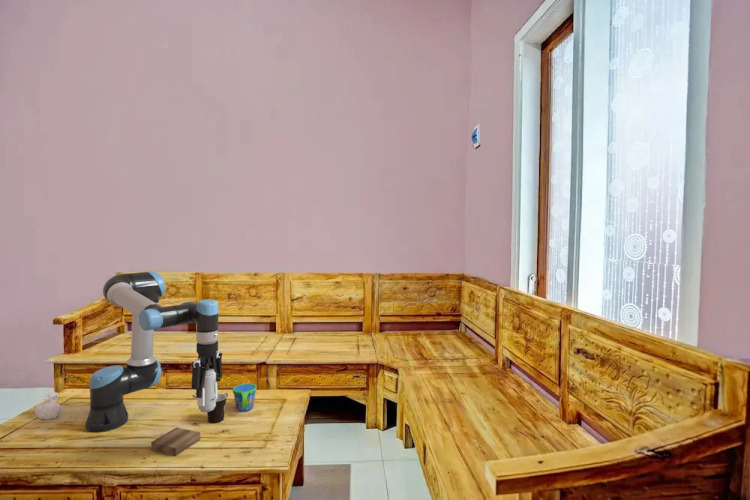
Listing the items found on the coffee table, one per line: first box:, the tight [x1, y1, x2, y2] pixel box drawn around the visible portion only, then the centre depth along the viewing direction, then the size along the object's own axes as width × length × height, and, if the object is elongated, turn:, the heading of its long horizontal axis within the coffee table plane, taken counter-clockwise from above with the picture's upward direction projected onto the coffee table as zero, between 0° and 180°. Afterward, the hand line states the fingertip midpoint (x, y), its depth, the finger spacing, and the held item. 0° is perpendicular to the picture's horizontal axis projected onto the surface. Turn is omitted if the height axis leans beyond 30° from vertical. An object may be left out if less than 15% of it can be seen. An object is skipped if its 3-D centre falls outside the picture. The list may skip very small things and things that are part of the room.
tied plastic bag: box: [34, 391, 63, 420], centre depth 173 cm, size 12×8×11 cm
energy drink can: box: [198, 367, 216, 413], centre depth 147 cm, size 6×6×15 cm
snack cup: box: [232, 383, 257, 413], centre depth 182 cm, size 16×10×10 cm
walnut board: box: [150, 427, 201, 457], centre depth 151 cm, size 12×12×3 cm
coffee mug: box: [206, 393, 227, 424], centre depth 172 cm, size 12×9×10 cm
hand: (207, 401), depth 147 cm, fingers closed on energy drink can, 6 cm apart
